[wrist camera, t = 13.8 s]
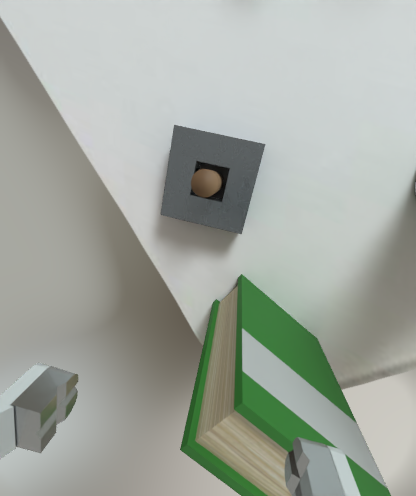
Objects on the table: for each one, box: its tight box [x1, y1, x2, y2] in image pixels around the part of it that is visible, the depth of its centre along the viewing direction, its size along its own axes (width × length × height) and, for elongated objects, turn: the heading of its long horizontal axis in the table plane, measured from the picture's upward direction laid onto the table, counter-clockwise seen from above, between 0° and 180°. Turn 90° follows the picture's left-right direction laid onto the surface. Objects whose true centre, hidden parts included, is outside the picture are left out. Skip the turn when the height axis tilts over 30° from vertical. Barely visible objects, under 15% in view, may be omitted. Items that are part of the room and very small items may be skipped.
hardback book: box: [180, 274, 391, 496], centre depth 31 cm, size 18×7×24 cm, turn 50°
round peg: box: [191, 169, 224, 197], centre depth 32 cm, size 3×3×9 cm
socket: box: [161, 125, 265, 234], centre depth 35 cm, size 12×12×4 cm
